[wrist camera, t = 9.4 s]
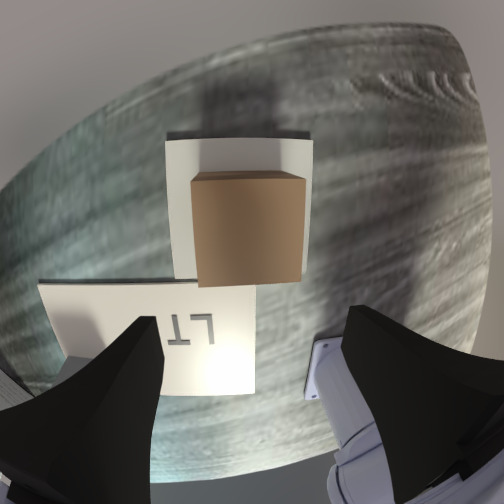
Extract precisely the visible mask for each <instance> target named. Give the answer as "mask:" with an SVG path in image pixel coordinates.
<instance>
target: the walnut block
mask: <svg viewBox="0 0 504 504" xmlns="http://www.w3.org/2000/svg"><path fill="white" fill-rule="evenodd" d="M190 185H191V204H192V220H193V234H194V246H195V258H196V269H197V279H198V288H203V287H224V286H243V285H260V284H275V283H289V282H301V273H302V259H303V242H304V224H305V200H306V179H305V178H302V177H299V176H296V175H293V174H291V173H288V172H285V171H282V170H254V171H218V172H199V173H198V174H197V175H196V176H195V177H194V178H193V179H192V180H191V181H190Z"/></svg>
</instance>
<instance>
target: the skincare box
mask: <svg viewBox="0 0 504 504" xmlns="http://www.w3.org/2000/svg"><path fill="white" fill-rule="evenodd" d="M32 398H34V397H33V396H32V395H31V394H29V393H28V392H26V391H25V390H24V389H23V388H21V387H20V386H19V385H18V384H17V383H15V382H14V381H13V380H12V379H11V378H10V377H8V376H7V375H6V374H5V373H4V372H3V371H2V370H1V369H0V411H1V410H4V409H7V408H10V407H13V406H16V405H18V404H21V403H23V402H26V401H28V400H30V399H32ZM1 476H2V473H1V472H0V479H1Z"/></svg>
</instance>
